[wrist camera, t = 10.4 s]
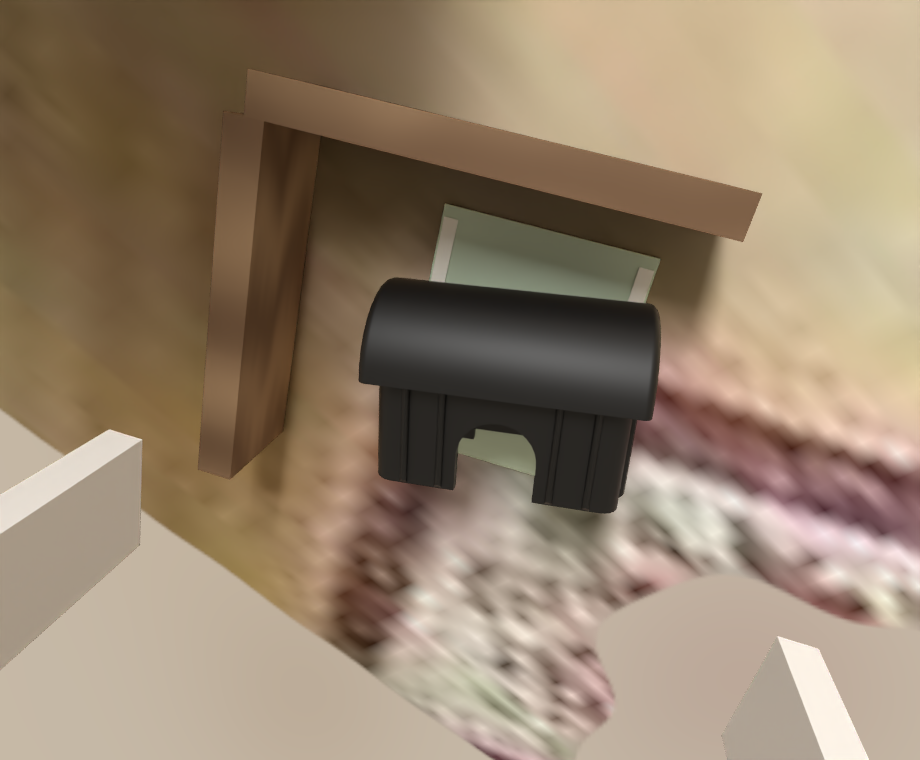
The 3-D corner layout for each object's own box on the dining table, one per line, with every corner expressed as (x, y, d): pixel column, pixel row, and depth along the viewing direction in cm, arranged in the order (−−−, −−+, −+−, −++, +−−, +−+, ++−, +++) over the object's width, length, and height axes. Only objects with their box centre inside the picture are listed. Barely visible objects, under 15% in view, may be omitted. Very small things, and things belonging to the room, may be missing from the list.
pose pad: (446, 203, 26) (444, 203, 26) (659, 258, 25) (660, 259, 25) (397, 433, 30) (396, 435, 30) (579, 487, 29) (580, 490, 29)
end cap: (650, 285, 25) (670, 330, 19) (623, 443, 28) (633, 528, 21) (410, 261, 27) (356, 295, 20) (405, 413, 29) (355, 484, 23)
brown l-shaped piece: (292, 79, 25) (226, 63, 21) (728, 185, 24) (762, 193, 19) (255, 422, 31) (197, 469, 27) (600, 527, 30) (601, 596, 25)
